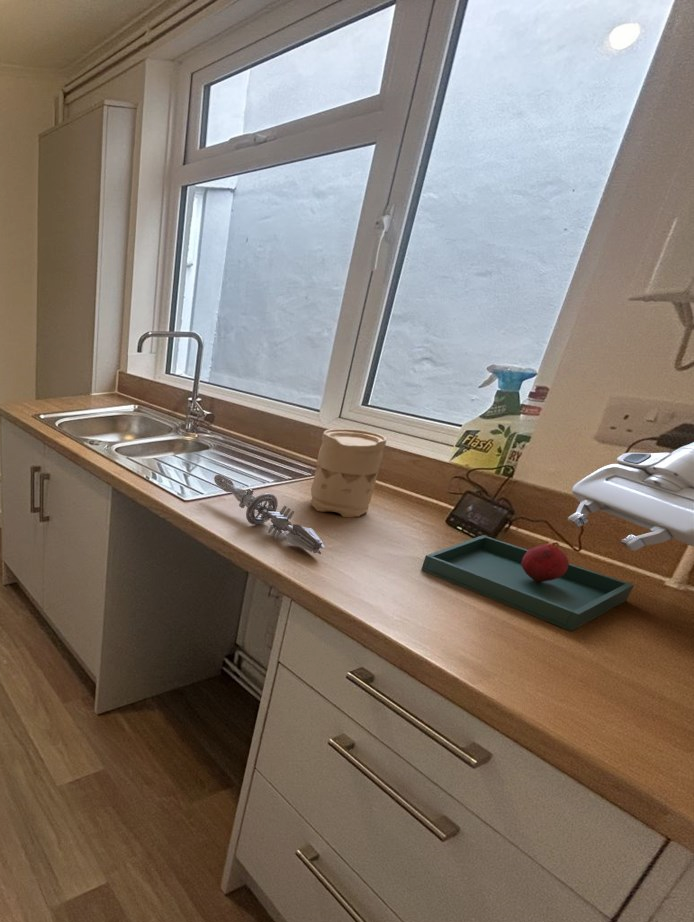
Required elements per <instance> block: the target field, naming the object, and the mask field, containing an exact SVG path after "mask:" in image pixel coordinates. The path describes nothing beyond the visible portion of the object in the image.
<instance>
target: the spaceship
mask: <svg viewBox="0 0 694 922" xmlns="http://www.w3.org/2000/svg"><path fill="white" fill-rule="evenodd" d="M213 481H214V483H215V484H216V486H217V487H219V488H220V489H221V490H222V491H224V492H225V493H231V494H232V495H233V496H234V497H235V499H236V500H237V501H238V502H239V503H238V506H239V508H241V509H245V507H246V512H245V516H246V517H245V518H246V520H247V522H248V523H249V524H250V525H254V526H259V525H263V524H265V523H266V524H268V525H269V526H270V527H269V529H268V530H267V534H270V536H271V537H274V539H278V538H279V537H280V536H281V534H283V533H284V534H285V533H286V534H285V538H286V542H287V544H289V545H290V544H291V545H293V546H296V547H298V548H301V549H304V550H306V551H309V552H312V553H313V554H319V555H321V554H322V552H321V551H320V549H322V550H323V549H325V548H326V546H325V544H324V543H323V541H322V539H321V537H319V536H318V534H317V533H316V531H314V529H313V528H311V527H305V526H302V525H301V524H299V523H296V521H294V520H293V519H292V517H293V515H294V514H295V511H294V510H292V509H291V508H290V507H288V506H287V505H284V506H283V507H282V508H281V509H280V510H279V511H277V509H278V506H279V505H278V504H279V502H278V498H277V496H276V495H275V494H273V493H269V492H266V493H262V494H259V495H257V496H255V495H253V494H254V490H253V489H252V488H247V490H245V489H242V488H238V487H237V486H236V485H235V483H234V481H232V480H231V479H230V478H228V477H227V476H225V475H223V474H216V475H215V476H214V477H213ZM267 504H268V505H267ZM269 520H270V522H271V523H272V524H271V523H269V522H268V521H269ZM289 520H290V521H293V522H294V523H293V524H292V523H291V522H290V521H289Z"/></svg>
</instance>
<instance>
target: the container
mask: <svg viewBox="0 0 694 922" xmlns="http://www.w3.org/2000/svg"><path fill="white" fill-rule="evenodd" d="M387 439H388V438H387V437H386V436H384V435H382V434H380V433H377V432H372V431H368V430H362V429H353V428H329V429H326V430H324V431H323V433H322V437H321V441H322V442H321V445H320V448H319V451H318V455H317V460H316V467H315V471H314V476H313V481H312V484H311V487H310V488H311V489H310V495H311V500H310V504H311V505H312V507H313V508H314V509H315V510H316V511H317V512H320V513H327V512H330V513H331V512H334V513H337V514H340V515H341V517H343V518H356V517H357V518H359V517H360V516H362V515H364V514H365V513H367V512H368V511H369V508H370V504H371V500H372V497H373V494H374V490H375V485H376V482H377V477H378V474H379V470H380V466H381V462H382V459H383V456H384V451H383V450H384V449H385V447H386V443H387Z"/></svg>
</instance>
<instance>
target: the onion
mask: <svg viewBox="0 0 694 922" xmlns="http://www.w3.org/2000/svg"><path fill="white" fill-rule="evenodd" d="M559 546H560V543H559V542H558V541H556V540H551V541H549V542H548V543H545V544H542V545H541V544H540V545H537V546H534V547H531V548H530V549H527V550H528V551H527V552H526V553H525V555H524V557H523V558H522V562H521V564H522V568H523V570H524V571H525V572H526V574H527V575H528V576H529V577H530V578H532V579H533V580H534V581H536V582H544V581H549V580H554V579H557V578H559V577H561V576H563V575H564V574H565V573H566V571H567V569H568V565H569V563H570V561H569V558H568V556H567V555H566V553H565V551H563V550H562V549H561V548H559Z"/></svg>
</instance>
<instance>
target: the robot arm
mask: <svg viewBox="0 0 694 922" xmlns="http://www.w3.org/2000/svg"><path fill="white" fill-rule="evenodd" d="M616 462H617V463H611V464H608V465H605V466H602V467H600V468H598V469H597V470H595V471H593V472H592V473H590V474H588V475H587V476H585V477H584V478H582V479H580V480H579V481H577V482H576V483H575V484H574V485H573V487H572V490H571V493H572V494H573V496H574V497H575V499H576V500H577V502H578V503H579V504H578V506H577V509H576V511H575V512H574V513H572V514H570V515H569V516H567V521H568V523H570V524H571V525H573V526H575V527H578V528H581V527H583V526H584V525H587V523H589V521H590V520H588V518H587V517H588V515H589V514H590V513H592V514H594V513H596V512H598V511H601V512H603V513H606V514H608V515H611V516H613V517H616V518H618V519H621V520H624V521H626V522H629V523H631V524H634V525H636V526H639V527H641V528H643V529H647V530H649V531H650V532H647V533H643V534H639V535H634V534H629V535H627V536H626V537H625V538H622V539H621V540H620V544H621V545H622V547H624V548H626V549H628V550H630V551H632V552H636V551H638V550H640V549H641V548H644V547H645V546H651V545H657V544H661V543H665V542H668V541H669V540H675V541H677V542H680V543H682V544H685V545H687V546H690V547H694V441H693V442H691V443H689V444H686V445H682V446H680V447H678V448H677V449H675V450H673V451H672V452H625V453H623V454H621V455H619V456H618V457H617V458H616Z"/></svg>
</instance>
